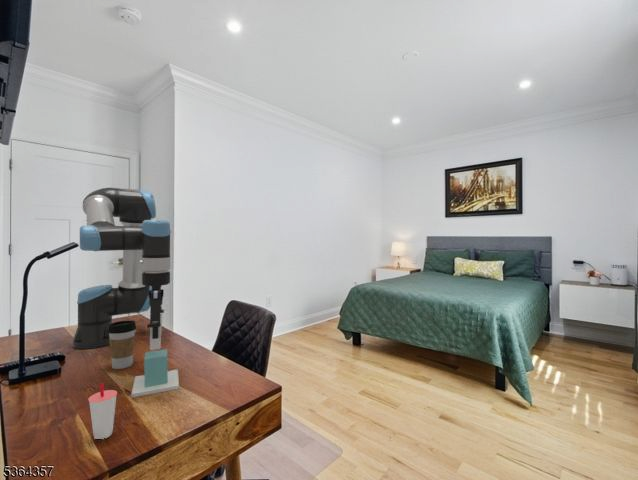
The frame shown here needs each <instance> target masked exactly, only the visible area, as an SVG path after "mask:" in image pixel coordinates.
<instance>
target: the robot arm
mask: <svg viewBox="0 0 638 480" xmlns="http://www.w3.org/2000/svg"><path fill="white" fill-rule="evenodd" d="M155 202H156V201H155V197H154V195H153V193H152V192H151V191H149V190H142V189H134V188H133V189H131V188H120V187H119V188H117V187H104V188H103V187H102V188H100V189H96V190H94V191H92V192H90V193H88V194H87V195H86V196H85V197H84V199H83V200H82V211H83V212H84V214H85V215H86V216H85V217H86V225H81V226H79V227H80V228H79V249H80V250H81V251H85V252H87V251H89V252H91V251H93V252H100V251H101V252H103V251H104V252H105V251H107V252H108V251H122V279H121V281H119V282H118V286H117V287H113V285H112V284H102V285H96V286H91V287H87V288H84V289H82V290H80V291H79V292H78V294H77V301H76V303H77V328H76V330H75V333H74V336H73V339H72V342H71V343H72V346H71V347H72V348H73V349H77V350H89V349H90V350H91V349H96V348H102V347H106V346H108V345H109V346H110V344H109V333H108V329H109V325H110V324H111V323H113V316H121V315H130V314H140V313H142V312H148V310H149V309H150V316H149V324H147V325H146V327H147V329H149V351H156V350H162V349H161V348H162V338H161V337H162V332H163V331H162V330H163V329H162V326H163V324H162V323H163V320H162V317H163V316H162V314H164V312H165V309H163V308H162V305H163V300H164V295H165V293H164V291H165V290H164V289H162V286H166V285H169V284H170V283H171V272H170V270H171V234H172V231H171V224H170V222H169V221H168V220H166V219H165V220H162V219H160V220H159V219H155V218H156V217H157V216H156V214H157V207H156V203H155ZM114 218H119V223H121V225H116V223H115V219H114ZM122 225H123V226H122Z"/></svg>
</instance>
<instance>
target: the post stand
mask: <svg viewBox="0 0 638 480" xmlns="http://www.w3.org/2000/svg"><path fill="white" fill-rule="evenodd" d="M178 370H179V369H178V368H177V369H172V370H168V383H165V384H160V385H155V386H149V387H144V374H142V375H136V376H135V377H134V382H133V385H132V389H131V390H132V391H131V399H133V398H137V397H144V396H148V395H153V394H158V393H163V392H164V393H165V392H169V391H175V390H178V389H180V385H179V382H180V381H179V371H178Z"/></svg>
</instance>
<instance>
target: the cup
mask: <svg viewBox="0 0 638 480" xmlns="http://www.w3.org/2000/svg"><path fill="white" fill-rule="evenodd" d="M117 395H118V391H117V390H115V389H114V390H113V389H107V390H105V389H104V382H101V383H100V384H99V391H98V392H96V393H94V394H92V395H91V396H89V397H88V399H87V400H88V403H89V411H90V418H91V419H90V420H91V427H92V433H93V439H94V440H95V439H102V440H105V439H107V438H109V437H110V436H112V435H113V429H114V423H115V413H116V412H115V411H116V405H117V404H116V402H117ZM104 438H105V439H104Z"/></svg>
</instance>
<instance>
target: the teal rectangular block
mask: <svg viewBox="0 0 638 480" xmlns="http://www.w3.org/2000/svg"><path fill="white" fill-rule="evenodd" d="M144 353H145V354H144V360H143V362H144V367H143V368H144V371H143V372H144V374H143V375H144V387H149V386H155V385H160V384H165V383H168V371H169V370H168V348H165V349H157V350H149V351H146V352H144Z"/></svg>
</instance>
